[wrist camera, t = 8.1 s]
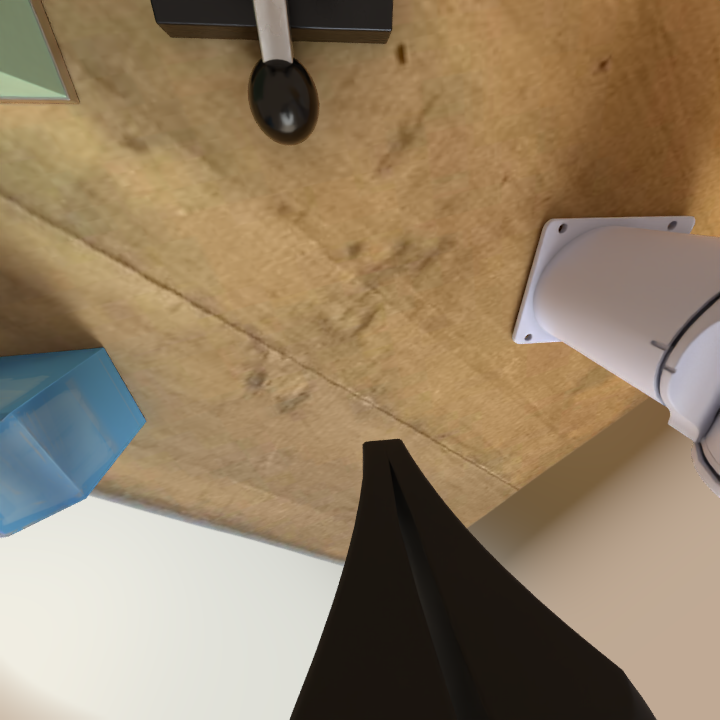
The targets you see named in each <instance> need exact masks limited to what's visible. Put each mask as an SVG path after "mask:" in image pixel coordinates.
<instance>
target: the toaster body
mask: <svg viewBox="0 0 720 720" xmlns="http://www.w3.org/2000/svg"><path fill="white" fill-rule="evenodd" d="M0 103H53V104H79V103H80V102H79V100H78V97H77V94H76V92H75V89H74V86H73V84H72V81H71V79H70V76H69V73H68V71H67V68H66V66H65V63H64V60H63V58H62V55H61V53H60V50H59V47H58V45H57V42H56V40H55V37H54V34H53V32H52V29H51V27H50V24H49V21H48V19H47V16H46V13H45V11H44V8H43V6H42V3H41V0H0Z"/></svg>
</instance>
